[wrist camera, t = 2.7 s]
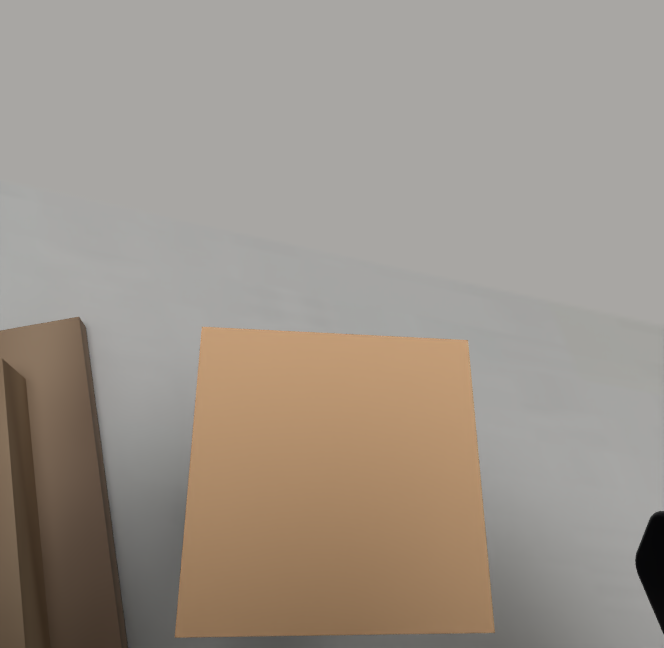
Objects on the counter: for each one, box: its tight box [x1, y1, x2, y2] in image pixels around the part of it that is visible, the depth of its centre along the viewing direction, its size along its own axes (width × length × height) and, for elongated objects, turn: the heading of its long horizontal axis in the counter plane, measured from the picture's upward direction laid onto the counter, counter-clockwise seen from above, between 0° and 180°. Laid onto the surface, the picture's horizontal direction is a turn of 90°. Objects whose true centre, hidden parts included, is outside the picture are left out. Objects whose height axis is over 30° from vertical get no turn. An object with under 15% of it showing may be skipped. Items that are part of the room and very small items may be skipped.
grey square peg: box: [175, 327, 495, 638], centre depth 12 cm, size 3×3×11 cm
